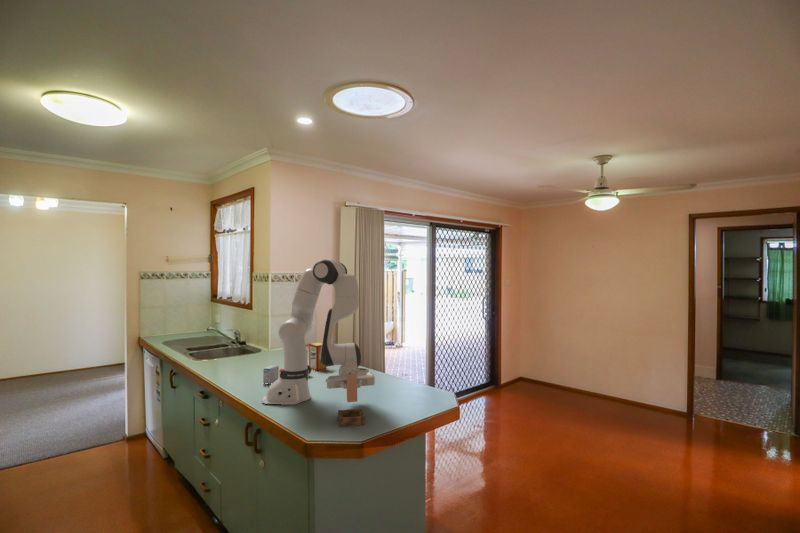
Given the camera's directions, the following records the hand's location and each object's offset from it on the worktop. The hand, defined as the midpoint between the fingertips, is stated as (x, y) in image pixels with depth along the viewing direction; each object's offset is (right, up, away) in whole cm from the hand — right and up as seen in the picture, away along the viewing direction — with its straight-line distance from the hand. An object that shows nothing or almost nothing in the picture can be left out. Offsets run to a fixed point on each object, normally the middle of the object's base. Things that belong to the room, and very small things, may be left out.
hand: (352, 386), depth 158 cm
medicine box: (-52, -16, +55) cm, 77 cm away
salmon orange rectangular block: (0, -6, +1) cm, 6 cm away
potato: (-39, -16, +68) cm, 80 cm away
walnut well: (0, -15, +1) cm, 15 cm away
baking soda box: (-32, -16, +85) cm, 92 cm away
